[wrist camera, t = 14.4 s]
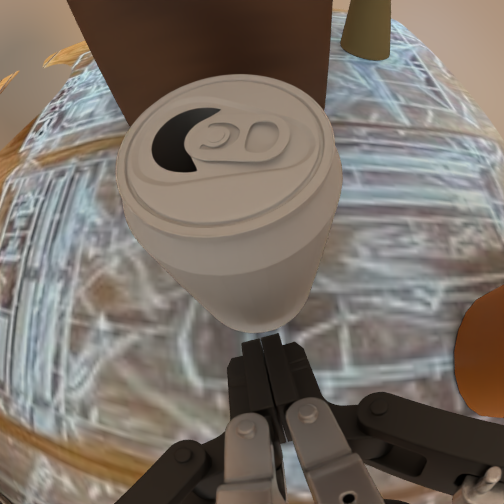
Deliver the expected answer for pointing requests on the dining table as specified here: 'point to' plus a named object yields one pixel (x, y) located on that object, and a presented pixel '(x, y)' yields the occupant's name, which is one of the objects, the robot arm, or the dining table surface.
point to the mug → (482, 355)
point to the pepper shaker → (368, 29)
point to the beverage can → (234, 194)
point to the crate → (204, 44)
